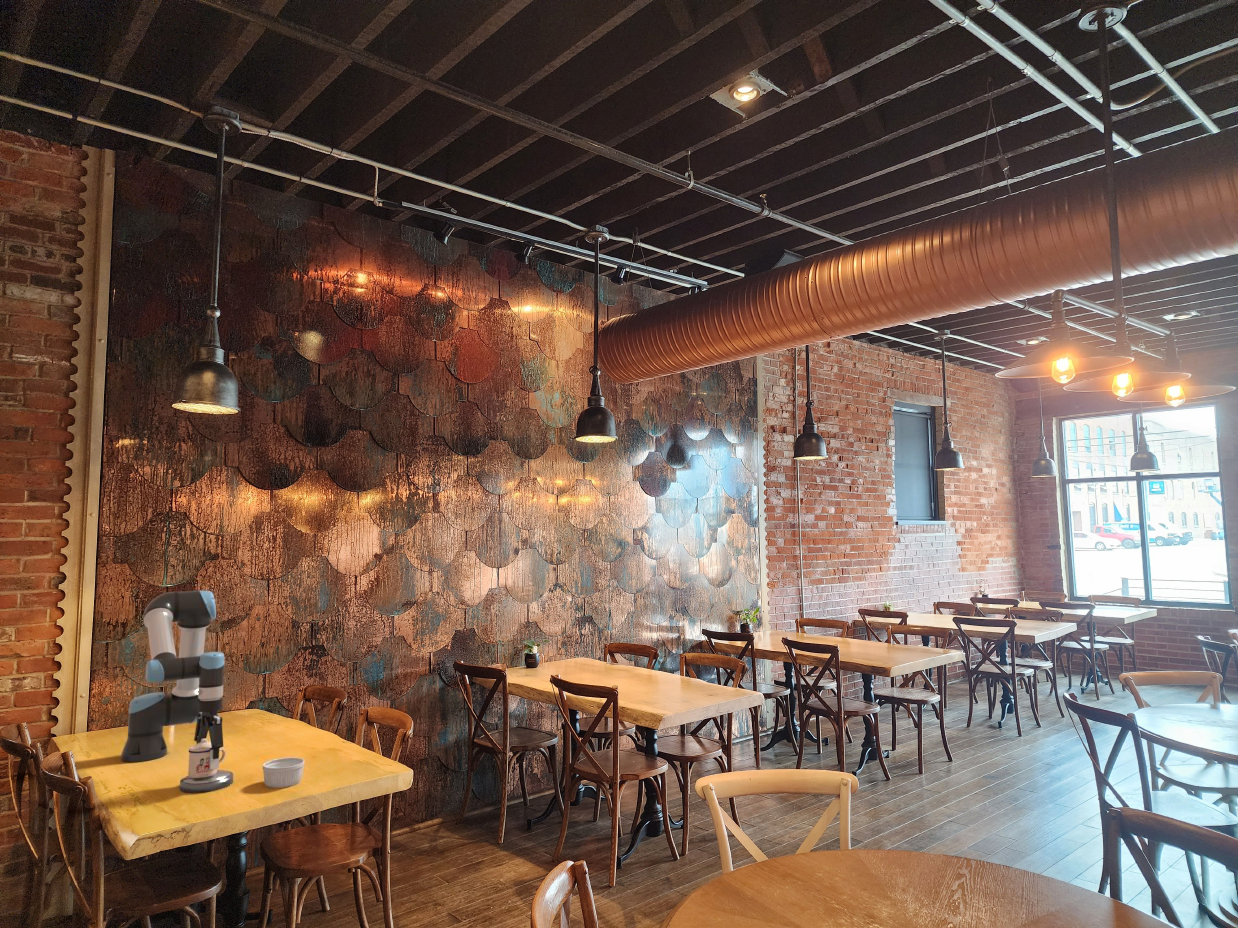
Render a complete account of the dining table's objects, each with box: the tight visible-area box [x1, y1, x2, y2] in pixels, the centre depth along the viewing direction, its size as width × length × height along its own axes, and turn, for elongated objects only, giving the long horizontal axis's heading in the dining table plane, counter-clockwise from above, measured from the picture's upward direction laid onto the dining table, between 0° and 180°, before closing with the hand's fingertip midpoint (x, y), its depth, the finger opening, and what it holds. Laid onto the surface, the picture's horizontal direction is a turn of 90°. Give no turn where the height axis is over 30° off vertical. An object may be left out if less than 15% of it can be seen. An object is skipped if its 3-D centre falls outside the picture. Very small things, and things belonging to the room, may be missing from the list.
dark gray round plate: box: [179, 769, 234, 794], centre depth 257 cm, size 16×16×3 cm
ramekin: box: [262, 756, 306, 789], centre depth 259 cm, size 13×13×7 cm
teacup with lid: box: [187, 738, 226, 778], centre depth 258 cm, size 12×9×12 cm
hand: (207, 765), depth 257 cm, fingers open, 9 cm apart
